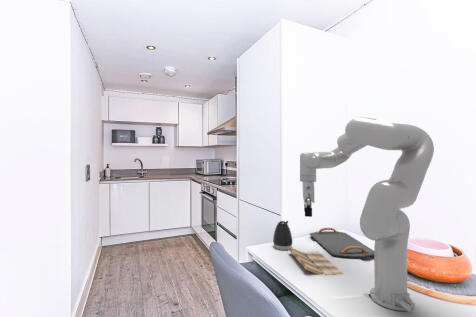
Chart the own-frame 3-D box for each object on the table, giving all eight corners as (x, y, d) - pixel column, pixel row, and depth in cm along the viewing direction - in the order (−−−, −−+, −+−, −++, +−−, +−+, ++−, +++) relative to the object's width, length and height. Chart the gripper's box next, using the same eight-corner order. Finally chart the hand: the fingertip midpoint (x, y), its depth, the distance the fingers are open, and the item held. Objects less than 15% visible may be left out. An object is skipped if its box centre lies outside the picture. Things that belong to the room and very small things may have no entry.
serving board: (382, 261, 114) (382, 248, 114) (334, 263, 113) (334, 250, 113) (342, 235, 152) (342, 225, 152) (306, 236, 151) (306, 226, 151)
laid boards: (344, 276, 99) (344, 273, 99) (325, 278, 98) (325, 275, 98) (318, 253, 123) (318, 251, 123) (302, 254, 122) (302, 252, 122)
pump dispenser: (296, 249, 129) (296, 220, 129) (285, 254, 122) (285, 224, 122) (280, 244, 136) (279, 217, 136) (269, 249, 129) (269, 221, 128)
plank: (322, 276, 99) (323, 273, 99) (305, 269, 98) (306, 266, 98) (302, 254, 121) (303, 252, 121) (288, 248, 120) (289, 246, 120)
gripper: (317, 180, 106) (317, 219, 106) (314, 176, 123) (314, 210, 123) (300, 180, 108) (300, 218, 108) (299, 176, 125) (299, 209, 125)
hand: (308, 213), depth 116 cm, fingers open, 9 cm apart
